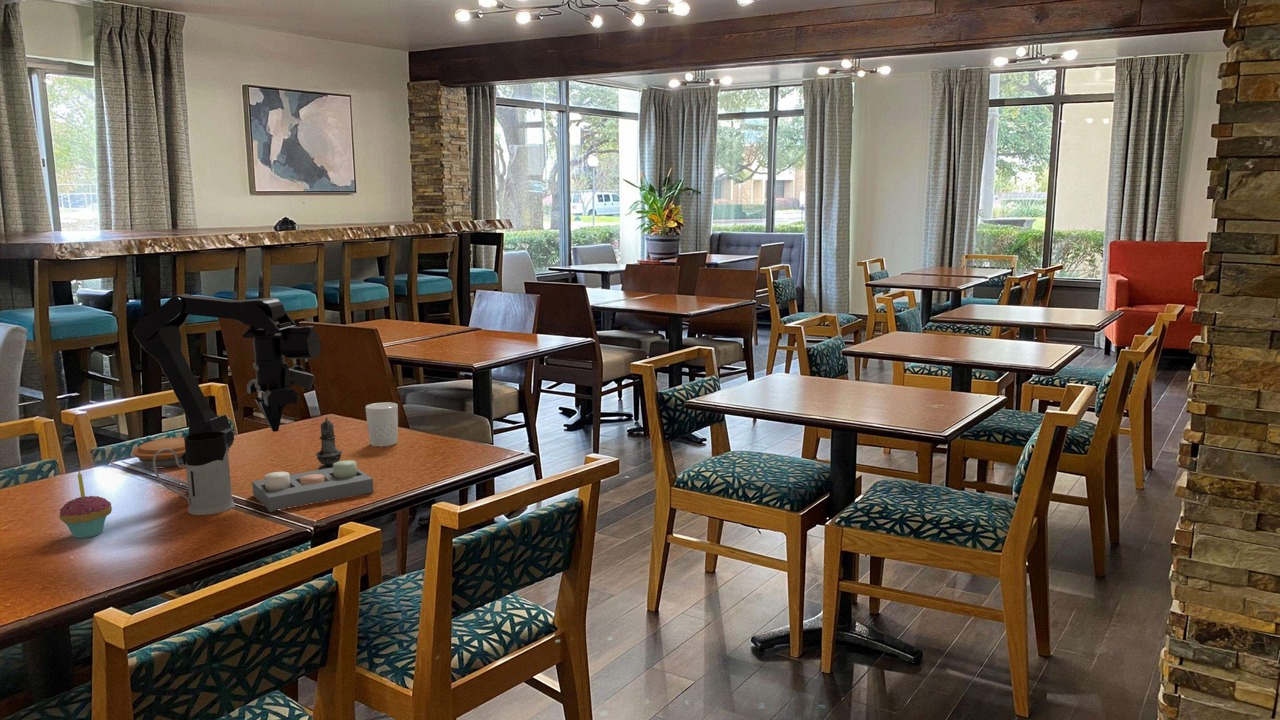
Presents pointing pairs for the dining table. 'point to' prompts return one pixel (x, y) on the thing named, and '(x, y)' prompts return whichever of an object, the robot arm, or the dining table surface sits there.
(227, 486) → the grey handled cylinder
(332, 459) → the grey chess piece
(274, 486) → the cream button
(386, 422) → the white cup
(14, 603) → the dining table surface
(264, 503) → the console
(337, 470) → the sage button
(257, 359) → the robot arm
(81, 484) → the cupcake
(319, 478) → the terracotta button
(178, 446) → the pie
